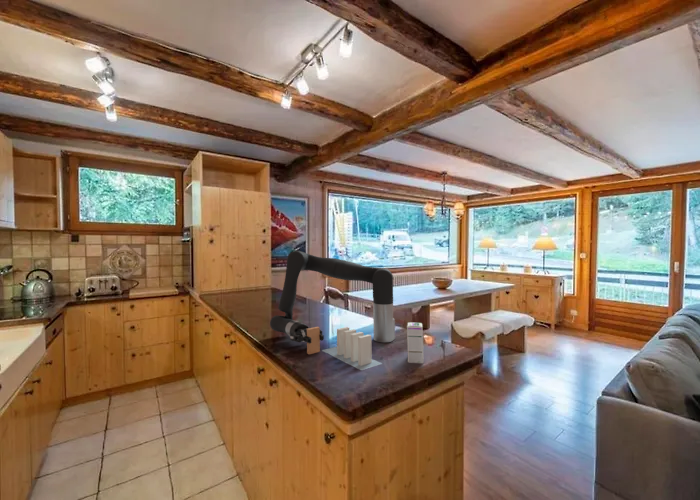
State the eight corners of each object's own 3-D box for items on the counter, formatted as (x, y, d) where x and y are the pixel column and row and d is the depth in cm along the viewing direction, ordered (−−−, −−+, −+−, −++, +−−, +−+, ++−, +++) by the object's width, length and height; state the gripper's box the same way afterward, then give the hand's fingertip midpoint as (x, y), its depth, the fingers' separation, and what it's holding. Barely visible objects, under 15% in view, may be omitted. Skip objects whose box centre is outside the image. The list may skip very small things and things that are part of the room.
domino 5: (368, 361, 113) (368, 334, 113) (371, 362, 111) (371, 335, 111) (358, 364, 110) (358, 336, 110) (361, 365, 108) (360, 337, 108)
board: (341, 347, 131) (341, 345, 131) (382, 366, 110) (382, 363, 110) (321, 352, 125) (321, 350, 125) (361, 373, 104) (361, 370, 104)
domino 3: (354, 354, 120) (353, 329, 120) (356, 355, 119) (356, 330, 118) (343, 357, 117) (343, 331, 117) (346, 358, 116) (345, 332, 115)
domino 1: (317, 350, 125) (317, 326, 125) (319, 351, 124) (319, 327, 123) (307, 353, 122) (306, 328, 122) (309, 354, 121) (308, 329, 120)
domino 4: (361, 357, 116) (360, 331, 116) (363, 359, 115) (363, 332, 115) (350, 360, 113) (350, 334, 113) (353, 362, 112) (353, 335, 112)
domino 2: (347, 351, 123) (347, 326, 123) (349, 352, 122) (349, 327, 122) (337, 354, 120) (336, 329, 120) (339, 355, 119) (339, 329, 119)
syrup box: (423, 366, 110) (423, 326, 110) (407, 365, 111) (406, 325, 111) (423, 360, 116) (422, 322, 116) (407, 359, 117) (407, 321, 117)
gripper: (281, 324, 130) (300, 333, 116) (311, 319, 138) (331, 326, 125) (282, 342, 130) (300, 352, 116) (311, 335, 138) (332, 345, 125)
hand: (316, 339), depth 121 cm, fingers closed on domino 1, 5 cm apart
